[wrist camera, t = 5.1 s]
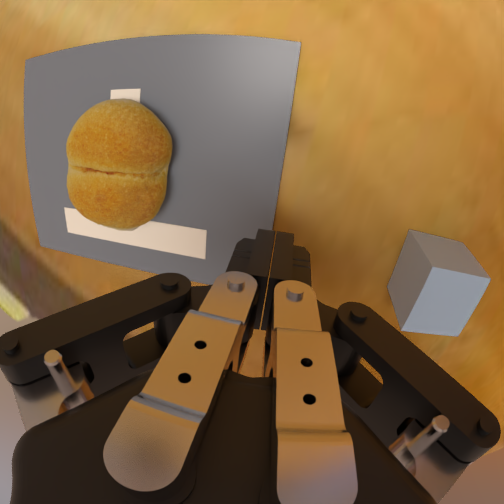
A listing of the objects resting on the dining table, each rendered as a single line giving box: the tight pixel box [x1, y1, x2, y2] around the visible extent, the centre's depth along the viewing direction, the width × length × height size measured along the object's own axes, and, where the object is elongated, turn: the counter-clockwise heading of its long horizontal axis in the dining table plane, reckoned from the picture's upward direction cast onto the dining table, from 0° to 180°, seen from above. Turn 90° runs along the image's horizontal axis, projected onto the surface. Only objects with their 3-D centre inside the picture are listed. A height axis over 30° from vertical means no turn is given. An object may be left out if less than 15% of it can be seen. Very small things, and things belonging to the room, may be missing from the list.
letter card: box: [24, 34, 301, 285], centre depth 20 cm, size 18×22×1 cm
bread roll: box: [66, 98, 172, 231], centre depth 18 cm, size 8×9×4 cm
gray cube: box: [387, 229, 491, 336], centre depth 18 cm, size 5×5×5 cm
